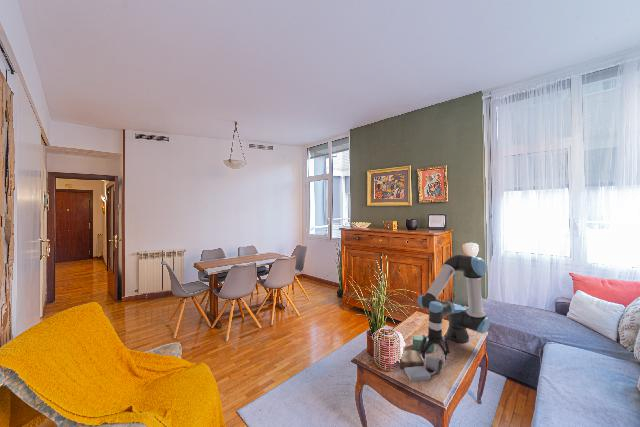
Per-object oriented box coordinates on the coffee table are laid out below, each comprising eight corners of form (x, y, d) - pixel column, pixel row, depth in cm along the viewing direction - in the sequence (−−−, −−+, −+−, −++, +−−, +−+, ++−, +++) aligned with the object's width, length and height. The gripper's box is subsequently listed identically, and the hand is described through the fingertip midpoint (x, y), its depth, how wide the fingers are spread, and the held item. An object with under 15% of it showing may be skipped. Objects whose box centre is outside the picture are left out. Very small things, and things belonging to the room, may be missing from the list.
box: (434, 352, 182) (433, 341, 182) (413, 349, 186) (412, 339, 186) (432, 346, 189) (432, 336, 189) (412, 344, 193) (412, 334, 193)
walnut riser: (416, 356, 178) (416, 349, 178) (424, 369, 164) (424, 362, 164) (395, 356, 178) (395, 349, 178) (401, 369, 165) (400, 362, 164)
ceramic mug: (429, 364, 169) (429, 352, 168) (442, 369, 163) (442, 357, 163) (422, 372, 161) (421, 359, 161) (435, 378, 155) (435, 365, 155)
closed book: (423, 369, 163) (423, 365, 163) (430, 379, 154) (430, 375, 154) (404, 371, 162) (404, 367, 162) (410, 381, 153) (410, 377, 153)
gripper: (451, 325, 165) (450, 360, 166) (414, 324, 166) (413, 359, 167) (457, 331, 158) (455, 368, 158) (418, 330, 158) (416, 366, 159)
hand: (433, 363), depth 163 cm, fingers open, 10 cm apart
